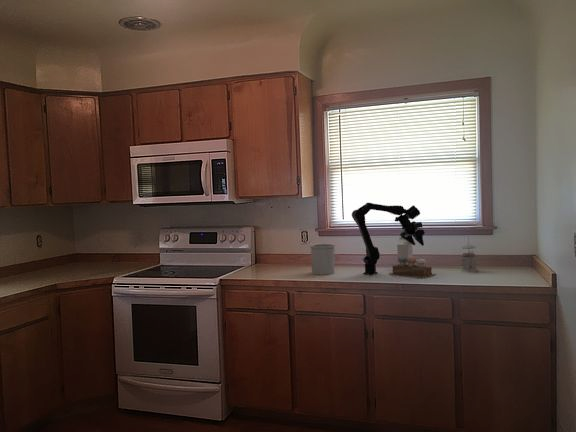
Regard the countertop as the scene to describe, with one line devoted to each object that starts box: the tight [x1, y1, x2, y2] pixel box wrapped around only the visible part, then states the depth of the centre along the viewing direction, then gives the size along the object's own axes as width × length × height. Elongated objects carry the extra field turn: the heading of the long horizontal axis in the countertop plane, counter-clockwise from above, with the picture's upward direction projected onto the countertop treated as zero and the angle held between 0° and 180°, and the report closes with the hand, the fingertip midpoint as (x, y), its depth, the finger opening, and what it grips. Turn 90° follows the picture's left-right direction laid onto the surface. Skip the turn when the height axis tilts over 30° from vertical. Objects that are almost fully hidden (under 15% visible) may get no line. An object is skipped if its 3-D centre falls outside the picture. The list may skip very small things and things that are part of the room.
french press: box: [460, 227, 479, 273], centre depth 284 cm, size 10×12×25 cm
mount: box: [388, 264, 436, 279], centre depth 279 cm, size 12×23×5 cm, turn 43°
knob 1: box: [397, 257, 407, 266], centre depth 283 cm, size 5×5×5 cm
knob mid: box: [407, 257, 417, 267], centre depth 278 cm, size 5×5×5 cm
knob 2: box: [415, 258, 427, 268], centre depth 274 cm, size 5×5×5 cm
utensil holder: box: [310, 242, 335, 276], centre depth 296 cm, size 15×15×18 cm
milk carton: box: [396, 237, 414, 265], centre depth 302 cm, size 7×7×19 cm
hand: (418, 245), depth 293 cm, fingers open, 9 cm apart
